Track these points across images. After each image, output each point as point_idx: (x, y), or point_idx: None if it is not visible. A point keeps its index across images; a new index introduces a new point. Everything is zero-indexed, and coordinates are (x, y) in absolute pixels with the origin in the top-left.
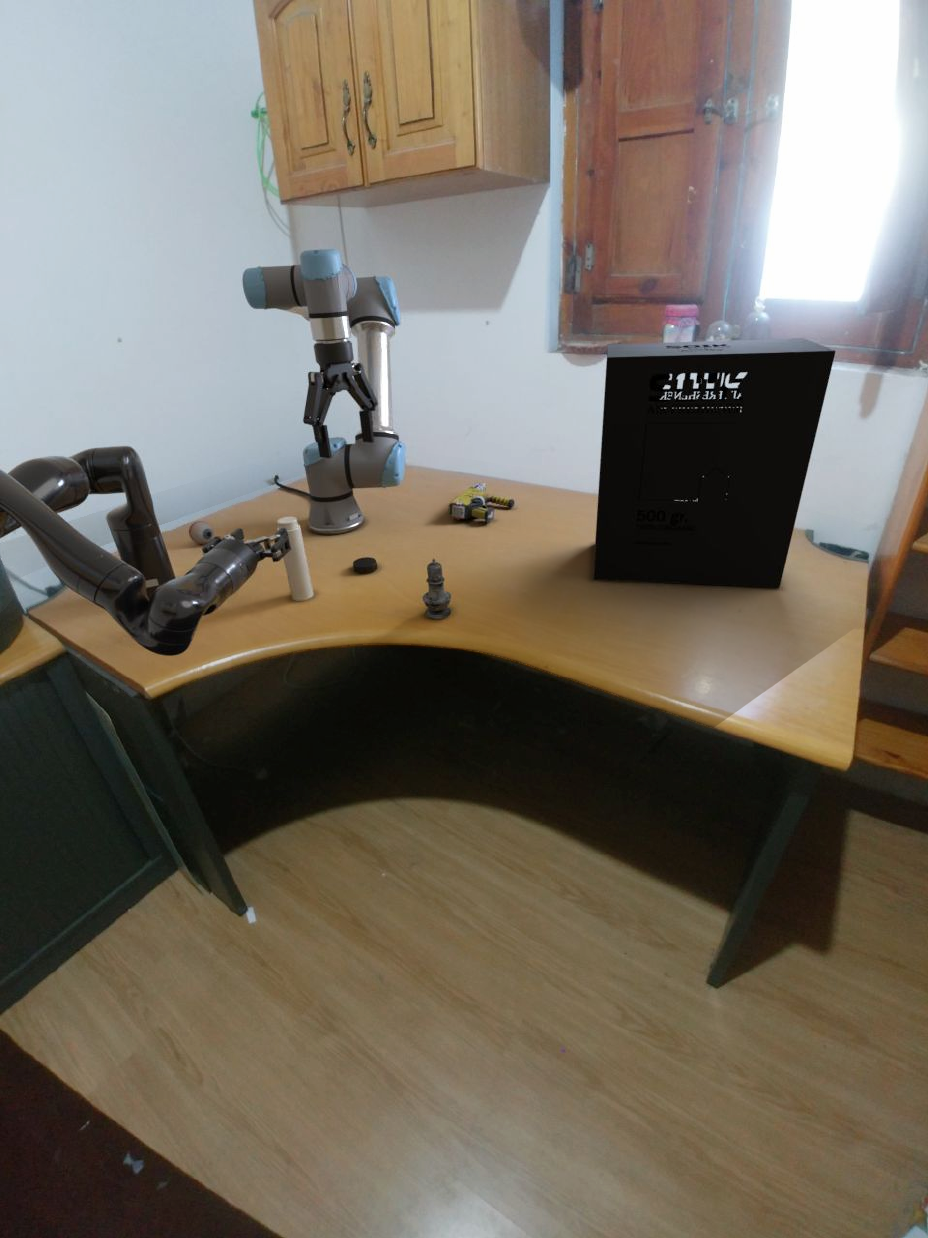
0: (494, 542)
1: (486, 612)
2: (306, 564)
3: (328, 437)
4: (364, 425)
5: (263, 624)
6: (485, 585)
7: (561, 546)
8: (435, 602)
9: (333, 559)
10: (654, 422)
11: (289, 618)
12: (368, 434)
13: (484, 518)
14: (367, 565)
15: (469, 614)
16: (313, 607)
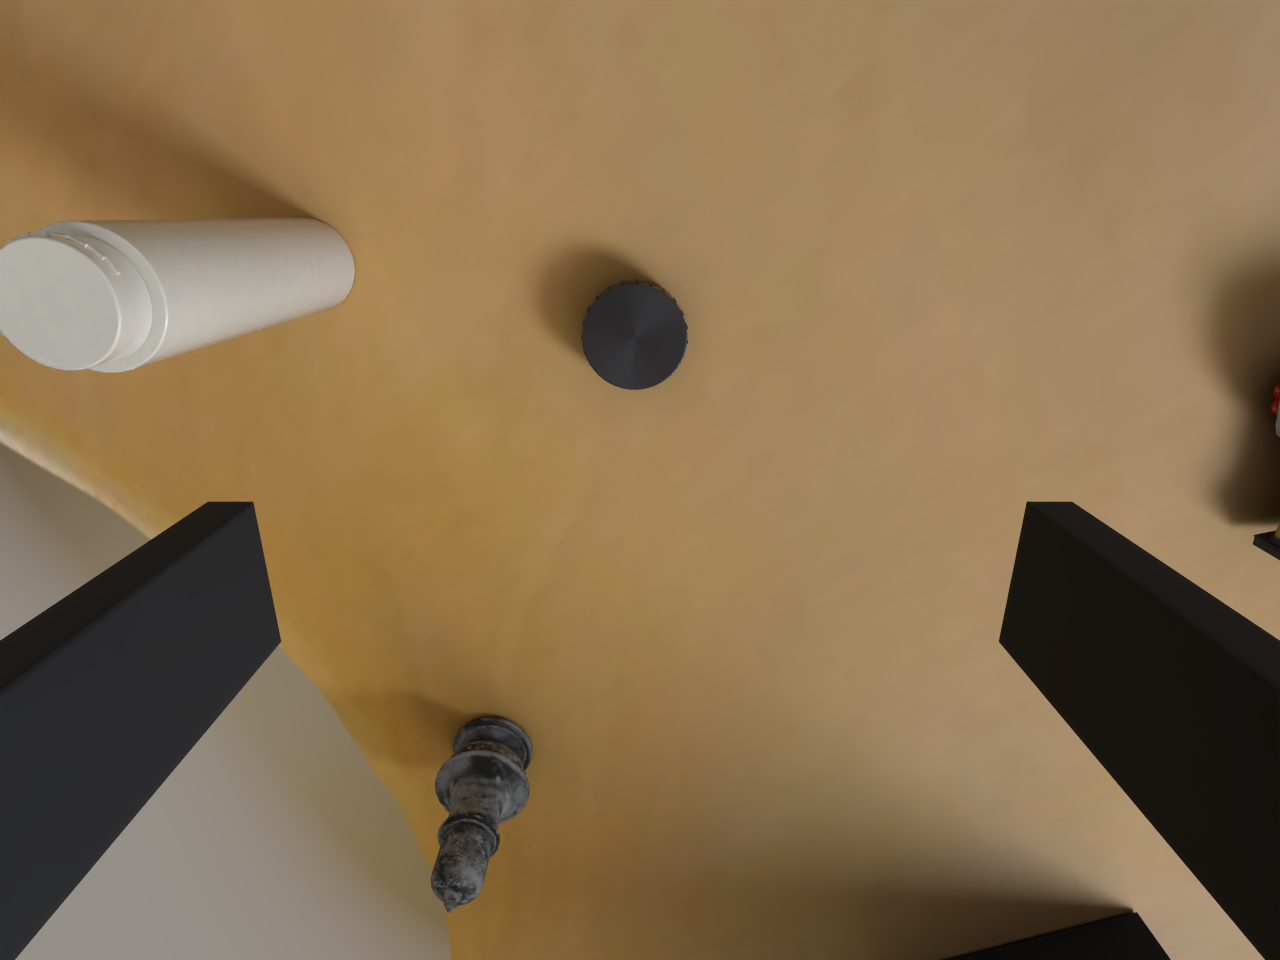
0: None
1: (569, 843)
2: (261, 329)
3: (124, 821)
4: (1155, 689)
5: None
6: (716, 772)
7: (1088, 839)
8: (447, 805)
9: (649, 103)
10: None
11: None
12: (1057, 660)
13: (1275, 536)
14: (611, 376)
15: (536, 815)
16: (277, 377)
